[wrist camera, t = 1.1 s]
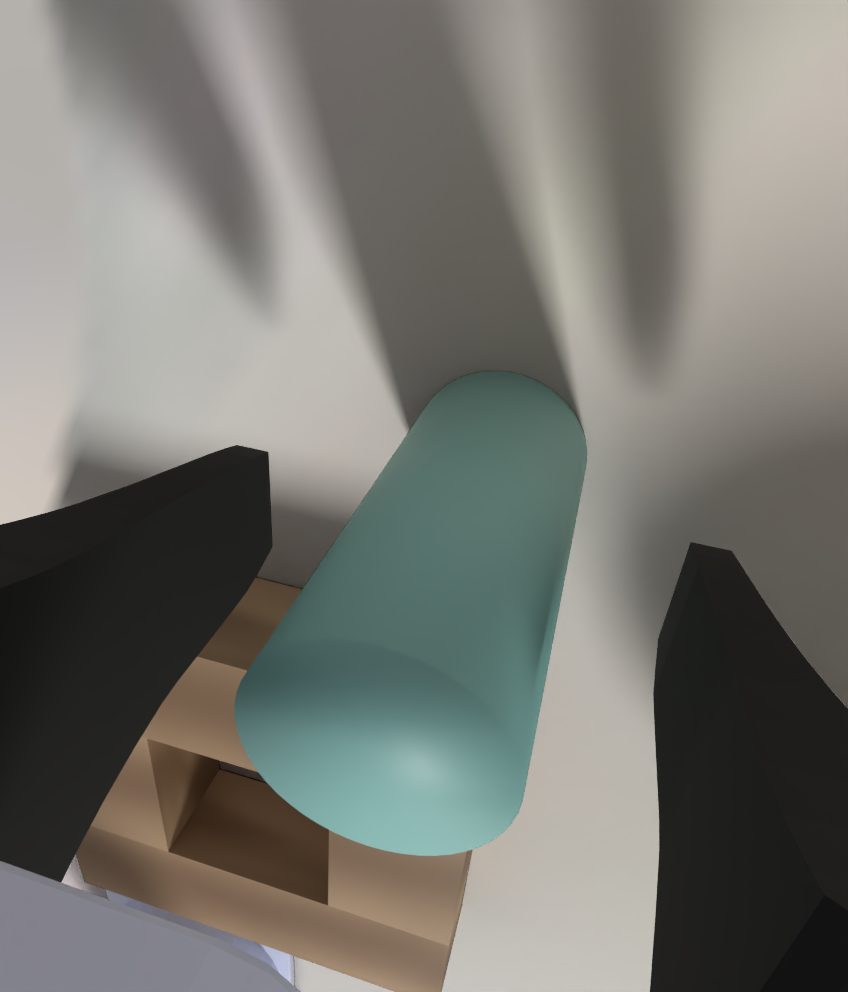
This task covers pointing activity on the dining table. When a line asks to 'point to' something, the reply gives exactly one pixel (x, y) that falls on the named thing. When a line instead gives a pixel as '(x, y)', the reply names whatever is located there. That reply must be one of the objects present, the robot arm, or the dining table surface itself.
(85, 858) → the socket block
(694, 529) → the dining table surface
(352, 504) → the dining table surface
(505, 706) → the peg
